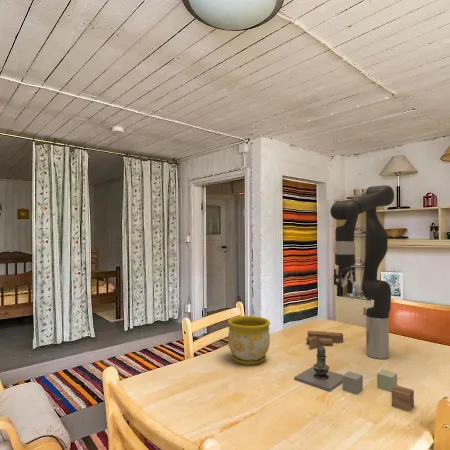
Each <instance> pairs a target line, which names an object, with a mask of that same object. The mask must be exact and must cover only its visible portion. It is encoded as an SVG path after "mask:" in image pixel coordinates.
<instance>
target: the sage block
mask: <svg viewBox="0 0 450 450" xmlns="http://www.w3.org/2000/svg"><path fill="white" fill-rule="evenodd" d="M396 385H398V373H397V372H393V371H390V370H386V369H380V370H379V371H378V372H377V373H376V387H377V389H381V390H384V391H387V392H391V393H392V389H393V388H394V387H395V386H396Z"/></svg>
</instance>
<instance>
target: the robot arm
mask: <svg viewBox="0 0 450 450" xmlns="http://www.w3.org/2000/svg"><path fill="white" fill-rule="evenodd" d="M394 200H395V192H394V188H392V187H391V186H390V185H386V184H385V185H375V186H368V187H367V188H366V190H365V194H362V195H358V196H355V197H352V198H350V199H347V200H342V201H337V202H334V203H333V204H332V205H331V207H330V215H331V217H332V218H333V219H334V220H337V221H344V220H345V222H344V224H343V225H340V226H336V228H335V230H334V231H335V232H334V233H335V235H334V236H335V237H334V238H335V241H334V242H335V243H334V265H335V266H338V268H334V269H333V285H335V286H336V295H337V297H344V285H345V283H346V293H347V294H350V295H351V294H353V293H354V283H355V282H356V267H355V266H356V244H355V231H356V227H357V221H358V219H359V216H360V214H363V213H365V220H366V221H365V238H364V239H365V241H364V244H365V245H364V249H365V251H364V252H365V253H364V267H363V275H362V281H361V292H362V296H363V297H364V298H365V299H367V300H372V301H373V306H372V307H368V308H366V309H365V351H366V352H365V354H366V356H368V357H369V358H370V357H371V358H373V359H379V360H383V359H384V360H385V359H388V358H389V357H390V327H389V326H390V322H389V320H390V319H389V316H390V315H389V314H390V312H391V305H392V304H391V303H392V302H391V301H392V290H391V289H392V288H391V285H390V283H389V282H387V281H386V280H380V279H378V270H379V267H380V265H381V263H382V262H383V260H384V258H385V257H386V255H387V252H388V246H389V245H388V244H389V243H388V242H389V241H388V239H389V237H388V233H387V231H386V230H385V227H384V226H383V225H382V223H381V221H380V219H379V218H378V213H377V208H379V207H386V206H387V207H388V206H391V204H392V203H393V202H394Z"/></svg>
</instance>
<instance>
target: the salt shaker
mask: <svg viewBox="0 0 450 450" xmlns="http://www.w3.org/2000/svg"><path fill="white" fill-rule="evenodd" d="M316 349H317V351H316V352H317V354H316V356H315V357H316V363H315V364H313V365H312V367H314V370H315V372H316V374H314V377H315V378H317V379H323V380H324V379H328V378H329V377H328V375H326V374H327V373H328V371H330V370H329V369H330V366H329V365H327V363H326V361H327V360H326V358H327V355H326V348H325V346H324V345H322V344H321V345H320V346H319V347H318V348H316Z"/></svg>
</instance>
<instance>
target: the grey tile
mask: <svg viewBox="0 0 450 450" xmlns="http://www.w3.org/2000/svg"><path fill="white" fill-rule="evenodd" d="M314 374H316V372H315V370H314V367H313V366H311V367H310V368H307V369H306V370H304V371H302V372H301V373H299V374H297V375H295V376H294V378H293V380H295V381H298V382H300V383H303V384H307V385H309V386H312V387H315V388H318V389H321V390H324V391H327V392H328V393H331V391H333V390H334V389H336V388H337V387H339V386H340V385H341V384H343V375H344V374H341V373H337V372H334V371H331V370H329V371H328V373H327V374H326V375H328V377H329V378H328V379H324V380H323V379H317V378H315V377H314Z"/></svg>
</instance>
